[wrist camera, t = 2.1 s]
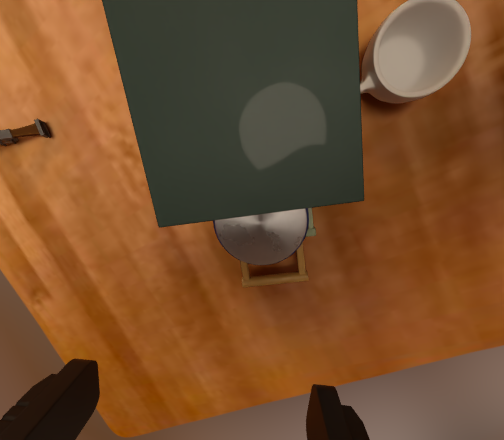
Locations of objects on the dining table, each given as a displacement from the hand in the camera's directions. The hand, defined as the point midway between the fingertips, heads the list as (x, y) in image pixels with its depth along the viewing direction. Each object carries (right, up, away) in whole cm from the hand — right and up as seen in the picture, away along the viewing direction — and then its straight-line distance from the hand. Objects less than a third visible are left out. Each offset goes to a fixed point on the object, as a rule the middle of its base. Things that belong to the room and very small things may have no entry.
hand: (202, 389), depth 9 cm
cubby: (+2, +18, +19) cm, 26 cm away
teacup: (+16, +22, +17) cm, 32 cm away
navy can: (+3, +9, +19) cm, 22 cm away
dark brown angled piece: (-26, +16, +21) cm, 37 cm away
